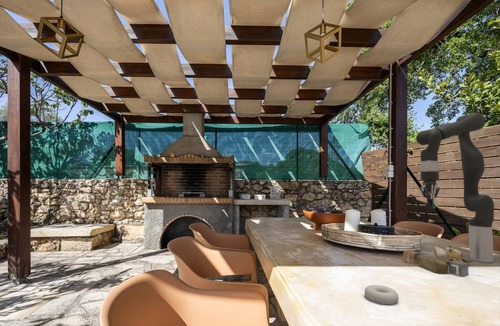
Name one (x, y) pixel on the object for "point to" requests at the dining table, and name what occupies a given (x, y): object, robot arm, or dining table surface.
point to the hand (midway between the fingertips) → (430, 206)
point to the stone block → (433, 264)
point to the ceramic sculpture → (449, 254)
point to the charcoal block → (458, 268)
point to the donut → (381, 294)
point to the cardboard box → (411, 257)
